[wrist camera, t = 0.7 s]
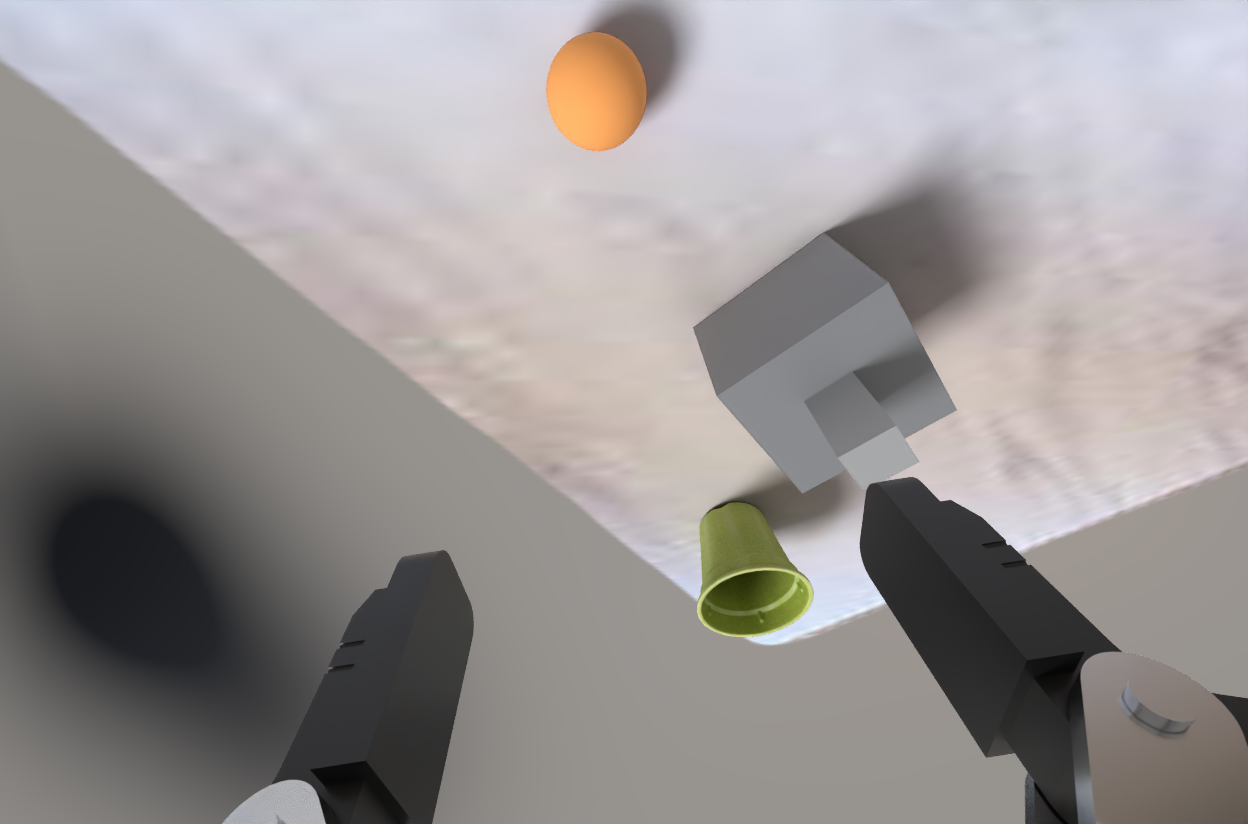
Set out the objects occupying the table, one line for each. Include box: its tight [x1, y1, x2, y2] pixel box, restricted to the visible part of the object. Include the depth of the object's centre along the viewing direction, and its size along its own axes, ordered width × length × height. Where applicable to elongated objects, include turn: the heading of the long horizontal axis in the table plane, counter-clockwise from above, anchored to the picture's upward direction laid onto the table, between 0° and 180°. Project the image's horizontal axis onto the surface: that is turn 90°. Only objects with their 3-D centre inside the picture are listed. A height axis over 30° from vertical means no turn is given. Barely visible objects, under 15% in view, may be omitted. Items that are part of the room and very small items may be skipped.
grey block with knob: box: [693, 233, 957, 494], centre depth 30 cm, size 10×10×14 cm
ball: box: [546, 32, 647, 151], centre depth 25 cm, size 5×5×5 cm
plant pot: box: [697, 502, 814, 637], centre depth 44 cm, size 9×9×9 cm
